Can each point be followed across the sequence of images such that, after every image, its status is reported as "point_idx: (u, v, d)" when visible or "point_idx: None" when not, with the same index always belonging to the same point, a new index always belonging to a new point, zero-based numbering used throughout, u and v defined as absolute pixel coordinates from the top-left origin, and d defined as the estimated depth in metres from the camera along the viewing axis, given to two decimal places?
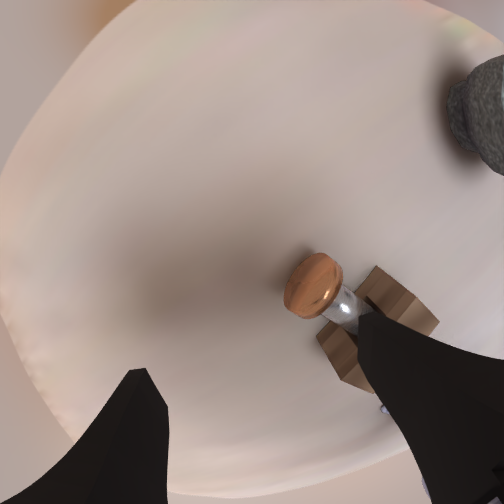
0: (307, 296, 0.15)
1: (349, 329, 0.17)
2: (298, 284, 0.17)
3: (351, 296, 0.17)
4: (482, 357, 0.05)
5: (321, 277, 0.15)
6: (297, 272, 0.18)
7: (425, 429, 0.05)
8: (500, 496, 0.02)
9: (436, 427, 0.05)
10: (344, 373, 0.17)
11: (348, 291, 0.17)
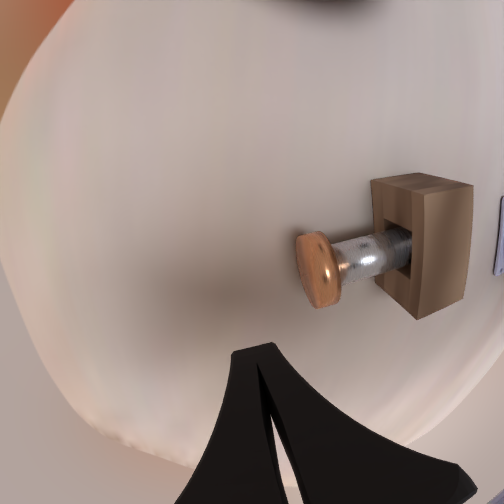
0: (316, 290, 0.14)
1: (388, 270, 0.14)
2: (306, 278, 0.15)
3: (360, 246, 0.14)
4: (354, 425, 0.04)
5: (312, 265, 0.13)
6: (299, 263, 0.16)
7: (298, 481, 0.05)
8: None
9: (300, 485, 0.05)
10: (415, 311, 0.14)
11: (355, 244, 0.14)
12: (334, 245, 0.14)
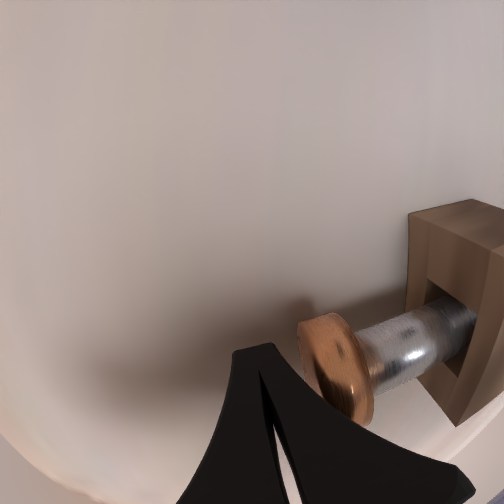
0: None
1: None
2: (312, 383, 0.08)
3: (408, 340, 0.07)
4: (352, 426, 0.04)
5: (326, 386, 0.07)
6: (302, 354, 0.09)
7: (296, 482, 0.05)
8: None
9: (298, 486, 0.05)
10: (456, 417, 0.07)
11: (398, 336, 0.07)
12: (364, 338, 0.08)
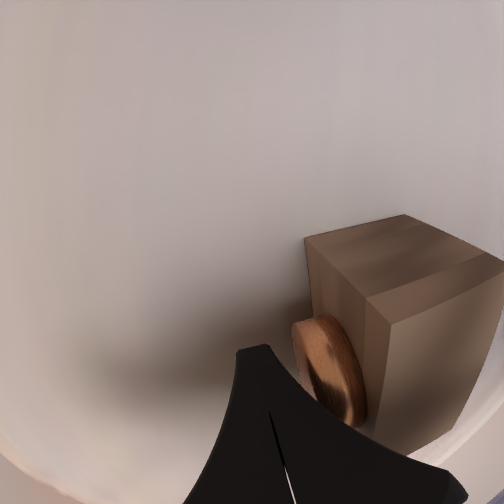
0: None
1: None
2: (306, 384, 0.08)
3: None
4: (345, 429, 0.04)
5: (318, 387, 0.07)
6: (296, 355, 0.09)
7: None
8: None
9: None
10: None
11: None
12: None
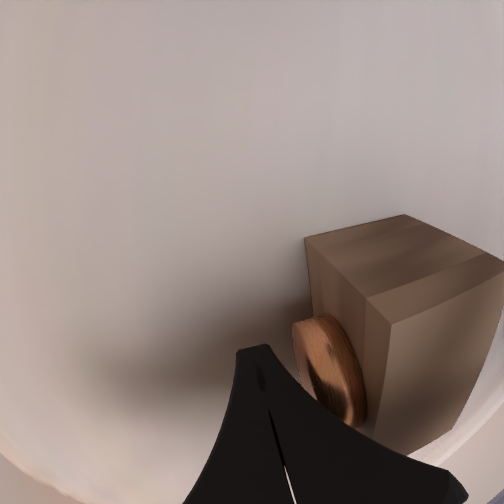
0: None
1: None
2: (306, 384, 0.08)
3: None
4: (345, 429, 0.04)
5: (318, 387, 0.07)
6: (296, 355, 0.09)
7: None
8: None
9: None
10: None
11: None
12: None
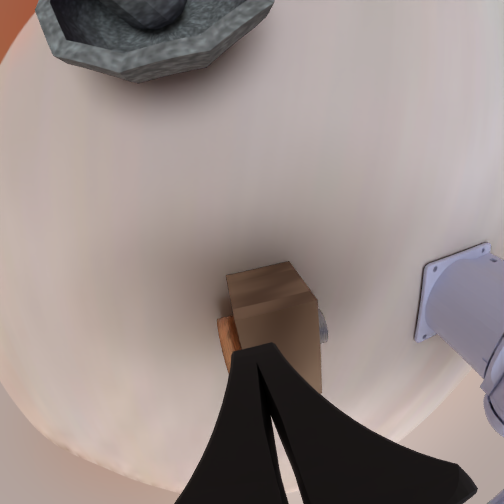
0: None
1: None
2: None
3: None
4: (354, 426, 0.04)
5: None
6: None
7: (298, 481, 0.05)
8: None
9: (300, 485, 0.05)
10: None
11: None
12: None
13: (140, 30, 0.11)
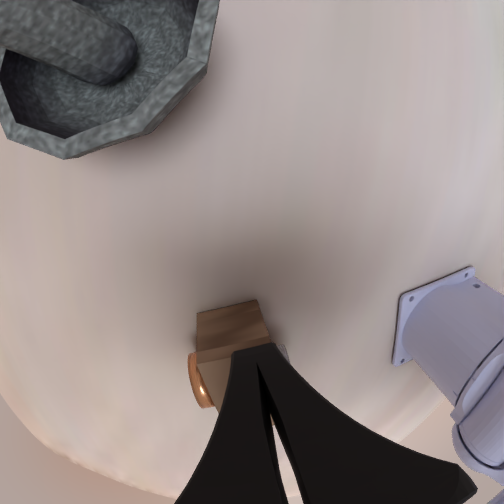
0: None
1: None
2: None
3: None
4: (354, 426, 0.04)
5: None
6: None
7: (298, 481, 0.05)
8: None
9: (300, 485, 0.05)
10: None
11: None
12: None
13: None
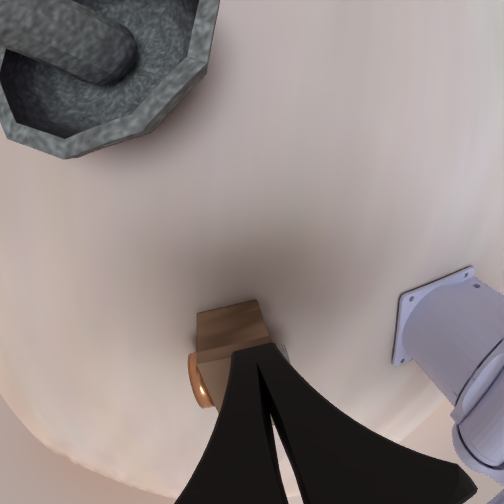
0: None
1: None
2: None
3: None
4: (354, 426, 0.04)
5: None
6: None
7: (298, 481, 0.05)
8: None
9: (300, 485, 0.05)
10: None
11: None
12: None
13: None
